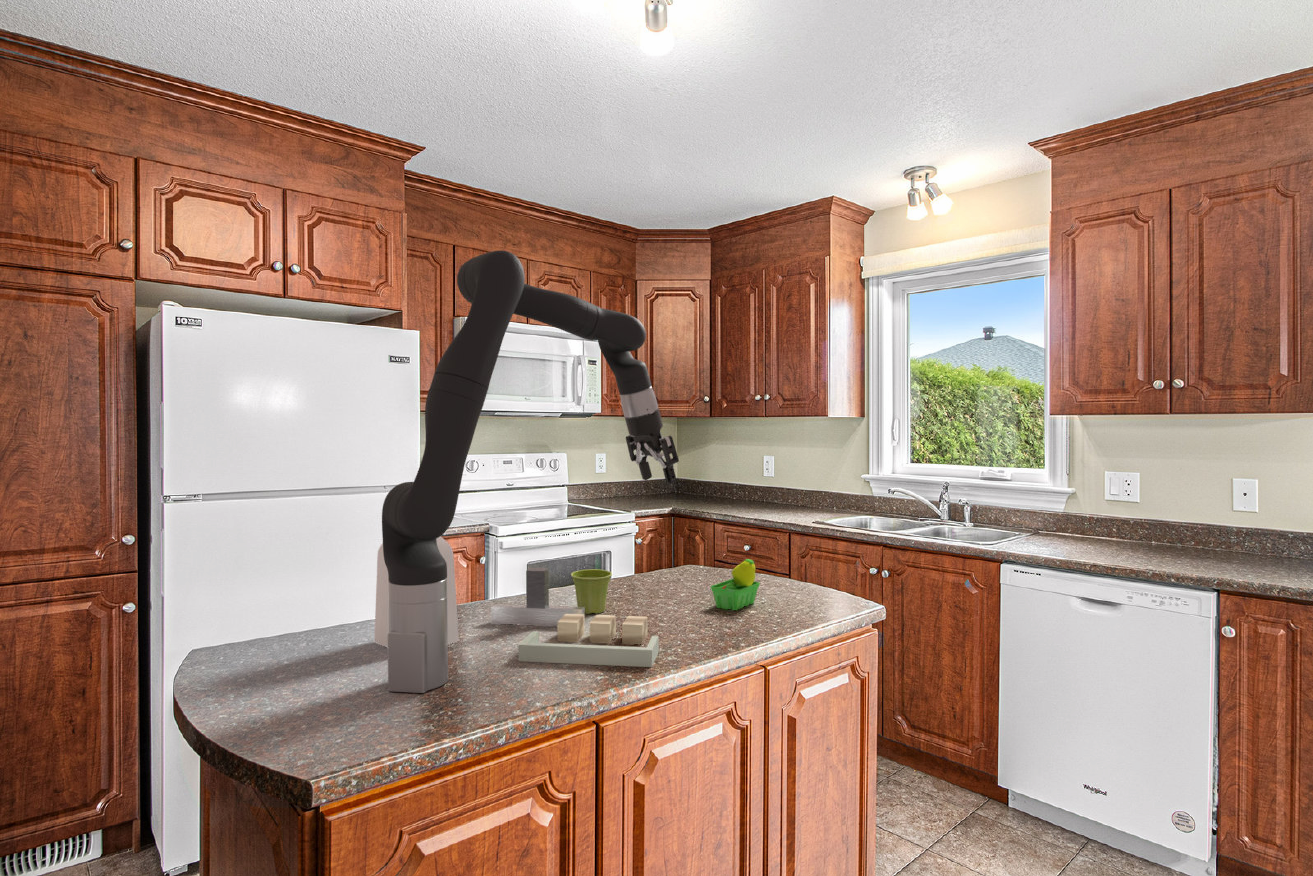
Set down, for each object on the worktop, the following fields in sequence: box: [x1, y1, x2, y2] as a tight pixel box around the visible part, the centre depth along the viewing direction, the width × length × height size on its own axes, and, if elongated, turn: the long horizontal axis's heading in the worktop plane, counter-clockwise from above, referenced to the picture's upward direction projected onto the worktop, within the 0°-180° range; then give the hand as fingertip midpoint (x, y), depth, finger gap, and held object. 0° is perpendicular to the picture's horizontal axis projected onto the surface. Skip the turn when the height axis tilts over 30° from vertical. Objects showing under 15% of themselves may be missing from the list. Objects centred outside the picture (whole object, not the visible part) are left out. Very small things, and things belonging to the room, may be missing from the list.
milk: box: [373, 535, 460, 649], centre depth 140 cm, size 12×12×26 cm
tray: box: [517, 630, 660, 668], centre depth 131 cm, size 8×24×3 cm, turn 82°
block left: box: [557, 614, 586, 643], centre depth 143 cm, size 6×4×4 cm, turn 172°
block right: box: [621, 615, 648, 646], centre depth 141 cm, size 6×4×4 cm, turn 172°
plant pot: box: [570, 568, 613, 615], centre depth 163 cm, size 9×9×9 cm
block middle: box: [589, 614, 617, 644], centre depth 142 cm, size 6×4×4 cm, turn 172°
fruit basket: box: [710, 558, 761, 611], centre depth 167 cm, size 11×9×11 cm
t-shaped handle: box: [490, 567, 586, 627], centre depth 152 cm, size 3×20×12 cm, turn 82°
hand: (659, 480), depth 156 cm, fingers open, 8 cm apart
